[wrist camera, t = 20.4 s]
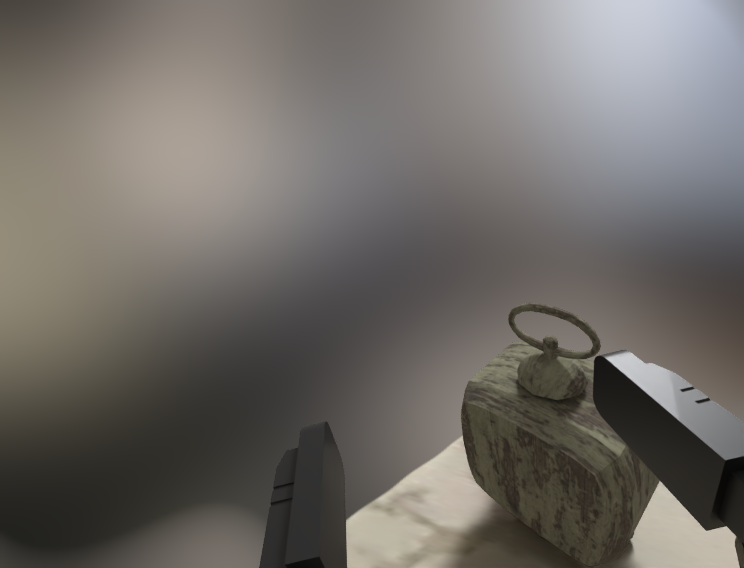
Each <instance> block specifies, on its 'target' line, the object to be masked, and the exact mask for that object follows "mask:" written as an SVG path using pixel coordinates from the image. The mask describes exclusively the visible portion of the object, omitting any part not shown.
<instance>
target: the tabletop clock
mask: <svg viewBox="0 0 744 568" xmlns="http://www.w3.org/2000/svg"><path fill="white" fill-rule="evenodd" d="M524 311H534V312H540V313H545V314H549V315H552V316H556V317H559V318H561V319H564V320H567V321H569V322H571V323H572V324H574V325H576V326H578V327H579V328H580V329H581V330H583V331H584V332H585V333H586V334H587V335H588V336H589V337H590V339H591V340H592V343H593V347H592V349H591V350H588V351H581V352H580V351H572V350H566V349H563V348H560V347H558V341H557V339H556V338H555V337H554V336H546V337H545V338H544V339H543V342H542V341H539V340H536V339H534V338H532V337H531V336H529V335H527V334H525V333H524V332H523V331H522V330H520V329H519V328H518V327H517V326H516V324H515V322H514V317H515V316H516V315H517V314H519V313H521V312H524ZM508 320H509V325H510V326H511V328H512V330H513V331H514V332H515V333H516V335H517V336H518V337H519V338H520V339H522V340H523V341H525V342H512V343H511V344H510V345H509V346H508V347H507V348H505V350H504V351H502V352H501V353H500V354H499V355H498V356H497V357H496V358H494V359H493V360H492V361H491V362H490V363H489V364H488V365H487V366H485V367H484V368H483V369H482V370H481V371H480V372H479V373H478V374H477V375H475V376H474V377H473V378H472V379H471V380H470V381H469V382H468V385H467V387H466V390H465V394H464V399H463V405H462V411H461V422H462V430H463V440H464V445H465V450H466V454H467V459H468V463H469V467H470V470H471V472H472V475H473V477H474V479H475V481H476V483H477V484H478V485H479V486H480V487H481V488H482V489H483V490H484V491H485V492H486V493H487V494H488V495H489V496H490V497H492V498H493V499H494V500H495V501H497V502H498V503H499V504H500V505H502V506H503V507H504V508H505V509H507V510H508V511H509V512H510V513H512V514H513V515H514V516H516V517H517V518H518V519H519V520H521V521H522V522H523V523H524V524H526V525H527V526H528V527H530V528H531V529H533V530H534V531H535V532H536V533H537V534H538V535H539V536H540V537H543V538H545V539H546V540H548V541H549V542H550V543H552V544H553V545H555V546H556V547H557V548H559V549H560V550H562V551H563V552H564V553H566V554H567V555H569V556H570V557H572V558H574V559H575V560H577V561H579V562H581V563H582V564H584V565H586V566H588V567H592V566H595V565H599V564H603V563H606V562H610V561H612V560H614V559H617V558H619V557H620V556H621V554H622V553H623V551H624V550H625V548H626V546H627V544H628V542H629V540H630V539H631V538H632V537H633V535H634V531H635V529H636V527H637V525H638V523H639V521H640V519H641V517H642V515H643V513H644V511H645V509H646V507H647V505H648V503H649V501H650V499H651V497H652V495H653V493H654V491H655V489H656V487H657V485H658V483H659V481H660V480H659V479H658V478H657V477H656V476H655V475H654V473H653V472H652V471H651V470H650V469H649V468H648V467H647V466H646V465H645V464H644V463H643V462H642V460H641V459H640V458H639V457H638V456H637V455H636V454H635V453H634V452H633V451H632V450H631V448H630V447H629V446H628V445H627V444H626V443H625V442H624V441H623V440H622V439H621V438H620V437H619V435H618V434H617V433H616V432H615V431H614V430H613V429H612V428H611V427H610V426H609V425H608V423H607V422H606V421H605V420H604V419H603V418H602V417H601V415H600V414H599V412H598V411H597V409H596V407H595V404H594V401H593V375H594V362H592V361H590V360H587V358H590V357H593V356H595V355H596V354H597V353H598V352H599V350H600V347H601V345H600V340H599V338H598V336H597V334H596V332H595V331H594V330H593V329H592V328H591V327H590V326H589V325H588V324H587V323H586V322H585V321H584V320H582V319H580V318H579V317H578V316H576V315H574V314H572V313H570V312H567V311H565V310H562V309H559V308H556V307H552V306H548V305H543V304H536V303H526V304H521V305H518V306H517V307H515V308H513V309H512V310H511V312H510V314H509V318H508Z"/></svg>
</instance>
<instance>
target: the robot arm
mask: <svg viewBox="0 0 744 568" xmlns="http://www.w3.org/2000/svg"><path fill="white" fill-rule="evenodd" d="M593 401H594V404H595V407H596V409H597V411H598V412H599V414H600V415H601V417H602V418H603V419H604V420H605V421H606V422H607V423H608V425H609V426H610V427H611V428H612V429H613V430H614V431H615V432H616V433H617V434H618V435H619V437H620V438H621V439H622V440H623V441H624V442H625V443H626V444H627V445H628V446H629V447H630V448H631V450H632V451H633V452H634V453H635V454H636V455H637V456H638V457H639V458H640V459H641V460H642V462H643V463H644V464H645V465H646V466H647V467H648V468H649V469H650V470H651V471H652V472H653V473H654V475H655V476H656V477H657V478H658V479H659V480H660V481H661V482H662V483H663V484H664V485H665V487H666V488H667V489H668V490H669V491H670V492H671V493H672V494H673V495H674V496H675V497H676V498H677V500H678V501H679V502H680V503H681V504H682V505H683V506H684V507H685V508H686V509H687V510H688V512H689V513H690V514H691V515H692V516H693V517H694V518H695V519H696V520H697V521H698V522H699V523H700V525H701V526H702V527H703V528H704V529H705V530H706V531H708V530H712V529H716V528H720V527H725V526H727V527H728V528H729V529H730V530H731V531H732V532H733V533H734V534H735V535H736V539H735V547H736V552H737V556H738V561H739V565H740V568H744V423H743V422H742V421H741V420H739V419H738V418H736V417H735V416H734V415H732V414H731V413H729V412H728V411H727V410H725V409H724V408H723V407H721V406H720V405H718V404H717V403H716V402H714V401H710V399H709V397H707V396H706V395H705V394H703V393H702V392H700V391H699V390H698V389H694V388H693V386H692V385H691V384H689V383H688V382H687V381H685V380H684V379H682V378H681V377H680V376H678V375H677V374H675V373H674V372H672V371H669V370H667V369H665V368H662V367H660V366H657V365H655V364H653V363H649V364H645V363H644V362H642V361H641V360H640V359H638V358H637V357H636V356H635V355H633V354H632V353H630V352H629V351H627V350H620V351H616V352H612V353H609V354H604V355H600V356H597V357H596V358H595V360H594V375H593ZM259 568H347V550H346V510H345V476H344V468H343V463H342V459H341V456H340V453H339V450H338V447H337V445H336V442H335V439H334V437H333V434H332V432H331V429H330V426H329V424H328V422H327V421H326V422H322V423H318V424H313V425H309V426H306V427H302V428H301V431H300V438H299V447H298V448H295V449H292V450H287V451H286V453H285V454H284V456H283V458H282V460H281V462H280V463H279V465H278V467H277V469H276V475H275V481H274V491H273V493H272V498H271V507H270V509H269V515H268V521H267V526H266V532H265V538H264V544H263V549H262V556H261V561H260V567H259Z"/></svg>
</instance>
